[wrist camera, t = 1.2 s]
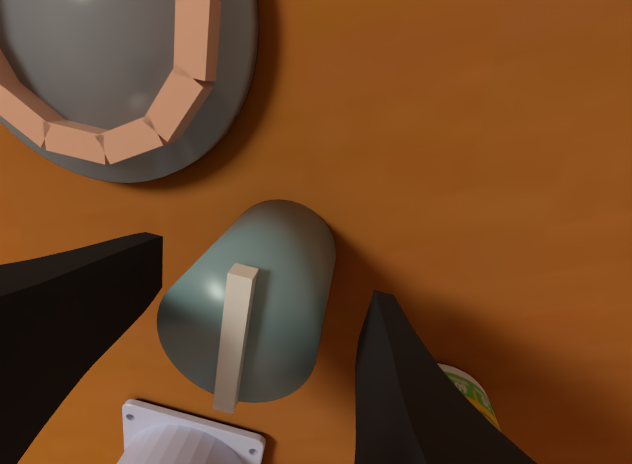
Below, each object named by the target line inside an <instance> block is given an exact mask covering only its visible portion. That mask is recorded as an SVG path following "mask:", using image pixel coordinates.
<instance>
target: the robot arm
mask: <svg viewBox="0 0 632 464" xmlns="http://www.w3.org/2000/svg"><path fill="white" fill-rule="evenodd" d="M162 257H163V236H159V235H155V234H151V233H147V232H143V233H138V234H133V235H128V236H124V237H120V238H117V239H113V240H109V241H105V242H101V243H98V244H94V245H90V246H86V247H83V248H79V249H75V250H70V251H66V252H62V253H58V254H53V255H49V256H45V257H41V258H36V259H31V260H26V261H20V262H15V263H9V264H3V265H0V464H17V463H18V461H19V460H20V459H21V457H22V456H23V454H24V453H25V452H26V450H27V449H28V447H29V446H30V445H31V443H32V442H33V440H34V439H35V437H36V436H37V435H38V433H39V432H40V431H41V429H42V428H43V427H44V425H45V424H46V423H47V421H48V420H49V419H50V418H51V416H52V415H53V414H54V412H55V411H56V410H57V408H58V407H59V406H60V404H61V403H62V402H63V400H64V399H65V398H66V397H67V395H68V394H69V393H70V392H71V390H72V389H73V388H74V387H75V385H76V384H77V383H78V382H79V380H80V379H81V378H82V377H83V375H84V374H85V373H86V372H87V371H88V370H89V369H90V368H91V367H92V365H93V364H94V363H95V362H96V361H97V360H98V359H99V358H100V357H101V356H102V355H103V354H104V353H105V352H106V351H107V350H108V349H109V348H110V347H111V346H112V345H113V344H114V343H115V342H116V341H117V340H118V339H119V338H120V337H121V335H122V334H123V333H124V332H125V331H126V330H127V329H128V328H129V327H130V326H131V325H132V324H133V323H134V322H135V321H136V320H137V319H138V318H139V317H140V316H141V315H142V314H143V312H144V311H145V310H146V309H147V308H148V306H149V305H150V304H151V302H152V301H153V300H154V298H155V297H156V295H157V294H158V292H159V291H160V290H161V288H162ZM355 389H356V450H355V462H354V464H537V463H535V462H534V461H533V460H532V459H531V458H530V457H528V456H527V455H526V454H525V453H524V452H523V451H522V450H520V449H519V448H518V447H517V446H516V445H515V444H514V443H512V442H511V441H510V440H509V439H508V438H507V437H506V436H505V435H503V434H502V433H501V432H500V431H499V430H498V429H497V428H496V427H495V426H494V425H493V424H492V423H491V422H490V421H489V420H488V419H487V418H486V417H485V416H484V415H483V414H482V413H481V412H480V411H479V410H478V409H477V408H476V407H475V406H474V405H473V404H472V403H471V402H470V401H469V400H468V399H467V398H466V397H465V396H464V395H463V394H462V393H461V391H460V390H459V389H458V388H457V387H456V386H455V384H454V383H453V382H452V381H451V380H450V379H449V377H448V376H447V375H446V374H445V373H444V371H443V370H442V369H441V368H440V366H439V365H438V364H437V362H436V361H435V360H434V358H433V357H432V356H431V354H430V353H429V352H428V350H427V349H426V347H425V346H424V344H423V343H422V342H421V340H420V339H419V337H418V336H417V334H416V332H415V331H414V329H413V328H412V326H411V324H410V323H409V321H408V319H407V318H406V316H405V314H404V313H403V311H402V309H401V307H400V306H399V304H398V302H397V301H396V299H395V297H394V296H393V295H391V294H387V293H383V292H379V291H374V294H373V297H372V300H371V303H370V306H369V309H368V312H367V315H366V318H365V321H364V324H363V327H362V330H361V333H360V336H359V340H358V348H357V357H356V366H355ZM122 412H123V432H124V454H123V455H122V457H121V458H120V460H119V461H118V462H117V464H261V462H262V457H263V453H264V448H265V443H266V440H265V439H264V437H263V436H262V435H260V434H257V433H253V432H250V431H246V430H242V429H239V428H235V427H232V426H228V425H224V424H221V423H217V422H214V421H210V420H207V419H203V418H199V417H196V416H192V415H189V414H185V413H182V412H178V411H174V410H171V409H167V408H164V407H160V406H156V405H153V404H149V403H146V402H142V401H139V400H135V399H129V400H127V401H126V402H125V404H124V405H123V407H122Z"/></svg>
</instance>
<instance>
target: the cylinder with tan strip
mask: <svg viewBox="0 0 632 464" xmlns="http://www.w3.org/2000/svg"><path fill="white" fill-rule="evenodd" d="M335 261H336V245H335V241H334V238H333V235H332V233H331V231H330V229H329V227H328V226H327V224H326V223H325V222H324V221H323V219H322V218H321V217H320V216H319V215H317V214H316V213H315V212H314V211H312V210H311V209H309V208H307V207H306V206H304V205H301V204H299V203H296V202H293V201H288V200H269V201H264V202H261V203H258V204H256V205H254V206H252V207H250V208H249V209H248V210H246V211H245V212H244V213H243V214H242V215H241V216H240V217H239V218H238V219H237V220H236V221H235V222H234V223H233V224H232V225H231V226H230V228H229V229H228V230H227V231H226V232H225V233H224V234H223V235H222V236H221V237H220V238H219V239H218V240H217V241H216V242H215V243H214V244H213V245H212V246H211V247H210V248H209V249H208V250H207V251H206V252H205V253H204V254H203V255H202V256H201V257H200V258H199V259H198V260H197V261H196V262H195V263H194V264H193V265H192V266H191V267H190V268H189V269H188V270H187V271H186V272H185V273H184V275H183V276H182V277H181V278H180V279H179V280H178V281H177V282H176V283H175V284H174V285H173V286H172V287H171V288H170V289H169V290H168V291H167V293H166V294H165V295H164V297H163V299H162V301H161V303H160V306H159V309H158V314H157V330H158V334H159V339H160V341H161V344H162V347H163V349H164V350H165V352H166V354H167V356H168V357H169V359H170V360H171V362H172V363H173V364H174V365H175V367H176V368H177V369H178V370H179V371H180V372H181V373H182V374H183V375H184V376H185V377H187V378H188V379H189V380H190V381H192V382H193V383H195V384H196V385H198V386H199V387H201V388H202V389H204V390H206V391H208V392H210V393H213V394H214V400H213V409H215V410H219V411H222V412H226V413H229V414H233V413H234V410H235V408H236V405H237V403H238V401H240V402H252V403H258V402H268V401H273V400H277V399H280V398H283V397H285V396H287V395H289V394H291V393H293V392H294V391H296V390H297V389H299V388H300V387H301V386H302V385H303V384H304V383H305V382H306V381H307V379H308V378H309V376H310V375H311V373H312V371H313V369H314V366H315V363H316V358H317V353H318V348H319V343H320V338H321V332H322V327H323V322H324V317H325V312H326V307H327V302H328V297H329V292H330V286H331V281H332V276H333V271H334V266H335Z"/></svg>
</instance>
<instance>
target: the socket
mask: <svg viewBox="0 0 632 464" xmlns="http://www.w3.org/2000/svg"><path fill="white" fill-rule="evenodd" d="M258 34H259V20H258V0H0V122H1V123H2V124H3V125H4V126H5V127H6V128H7V129H8V130H9V131H11V132H12V133H13V134H14V135H15V136H16V137H17V138H19V139H20V140H21V141H22V142H23V143H24V144H26V145H27V146H29V147H30V148H31V149H33V150H34V151H36V152H37V153H38V154H40V155H41V156H43V157H45V158H46V159H48V160H50V161H52V162H53V163H55V164H57V165H58V166H61V167H63V168H65V169H67V170H70V171H72V172H74V173H77V174H80V175H83V176H86V177H89V178H93V179H97V180H102V181H108V182H119V183H134V182H145V181H150V180H154V179H158V178H162V177H164V176H167V175H169V174H171V173H174V172H176V171H179V170H181V169H183V168H185V167H187V166H189V165H191V164H193V163H194V162H196V161H197V160H199V159H201V158H202V157H204V156H205V155H206V154H207V153H208V152H209V151H211V150H212V149H213V148H214V147H215V146H216V145H217V144H218V143H219V142H220V141H221V139H222V138H223V137H224V136H225V135H226V134H227V132H228V131H229V130H230V128H231V126H232V125H233V123H234V122H235V120H236V118H237V117H238V115H239V113H240V111H241V109H242V106H243V104H244V102H245V100H246V98H247V95H248V91H249V88H250V85H251V82H252V78H253V75H254V69H255V63H256V58H257V51H258Z"/></svg>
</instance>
